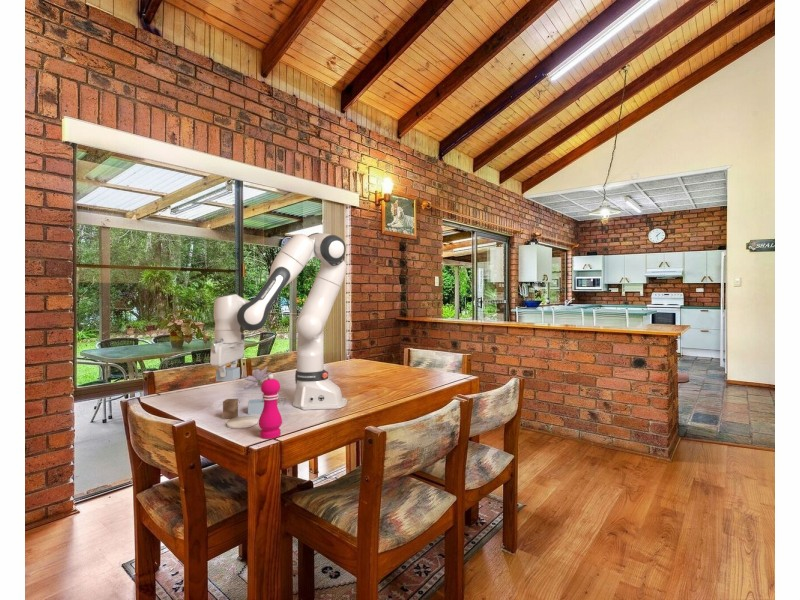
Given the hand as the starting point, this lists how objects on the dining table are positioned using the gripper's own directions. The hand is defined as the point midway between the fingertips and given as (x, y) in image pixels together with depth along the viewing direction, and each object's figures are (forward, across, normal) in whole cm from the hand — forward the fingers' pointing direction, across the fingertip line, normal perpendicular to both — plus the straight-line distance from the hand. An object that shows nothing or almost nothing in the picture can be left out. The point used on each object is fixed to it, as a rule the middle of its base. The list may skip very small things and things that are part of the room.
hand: (228, 374), depth 152 cm
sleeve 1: (+2, 0, 0) cm, 2 cm away
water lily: (+16, +48, +8) cm, 52 cm away
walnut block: (+16, -1, -1) cm, 16 cm away
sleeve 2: (+16, +8, -7) cm, 19 cm away
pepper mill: (+16, -19, -22) cm, 34 cm away
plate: (+16, -8, -8) cm, 20 cm away
